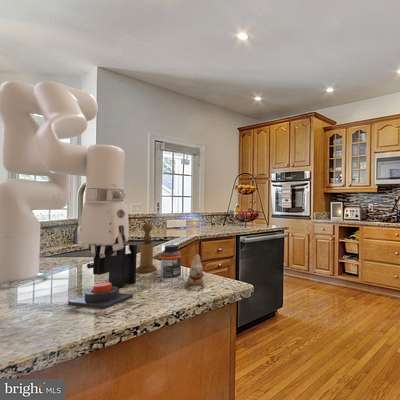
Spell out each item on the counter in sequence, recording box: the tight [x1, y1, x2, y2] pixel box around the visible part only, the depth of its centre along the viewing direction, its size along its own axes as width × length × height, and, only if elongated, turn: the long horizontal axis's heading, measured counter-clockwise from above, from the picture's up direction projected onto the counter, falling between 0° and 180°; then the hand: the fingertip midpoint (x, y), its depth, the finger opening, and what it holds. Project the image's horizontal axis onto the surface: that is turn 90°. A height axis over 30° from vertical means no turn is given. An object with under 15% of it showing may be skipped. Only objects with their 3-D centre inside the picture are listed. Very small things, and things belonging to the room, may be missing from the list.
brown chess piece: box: [136, 222, 158, 274], centre depth 97 cm, size 7×6×18 cm
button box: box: [67, 286, 134, 310], centre depth 67 cm, size 10×8×4 cm
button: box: [92, 281, 112, 293], centre depth 67 cm, size 4×4×2 cm
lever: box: [86, 245, 131, 269], centre depth 81 cm, size 12×5×2 cm, turn 78°
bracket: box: [108, 243, 138, 289], centre depth 80 cm, size 10×8×13 cm
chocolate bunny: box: [186, 254, 205, 290], centre depth 84 cm, size 6×8×10 cm
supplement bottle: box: [160, 244, 182, 279], centre depth 91 cm, size 6×6×11 cm
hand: (101, 273), depth 67 cm, fingers closed
